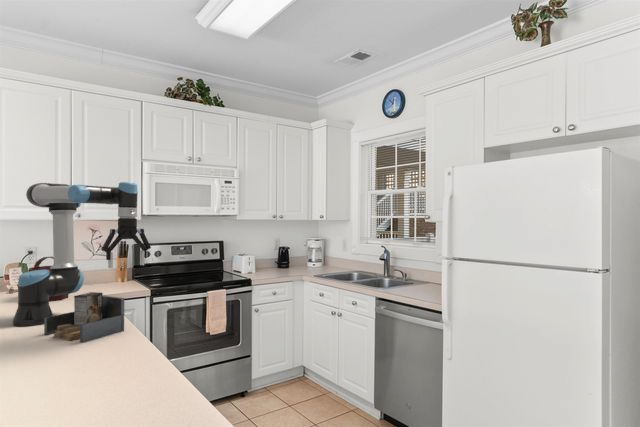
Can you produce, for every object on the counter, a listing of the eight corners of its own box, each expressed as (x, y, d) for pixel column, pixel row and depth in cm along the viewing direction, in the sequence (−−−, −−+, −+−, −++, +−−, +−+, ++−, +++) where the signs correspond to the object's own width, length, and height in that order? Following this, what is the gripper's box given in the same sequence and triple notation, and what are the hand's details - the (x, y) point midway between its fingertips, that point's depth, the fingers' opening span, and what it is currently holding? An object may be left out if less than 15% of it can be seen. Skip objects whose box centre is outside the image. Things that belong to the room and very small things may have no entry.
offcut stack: (53, 337, 166) (53, 326, 166) (67, 334, 170) (67, 323, 170) (70, 342, 160) (71, 330, 160) (84, 338, 164) (85, 327, 165)
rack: (44, 334, 168) (44, 300, 168) (87, 324, 185) (87, 293, 185) (82, 342, 158) (82, 306, 158) (124, 330, 175) (124, 298, 175)
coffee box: (90, 328, 178) (90, 291, 178) (103, 329, 177) (103, 292, 177) (73, 334, 169) (73, 295, 169) (86, 335, 168) (87, 296, 168)
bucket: (80, 298, 242) (80, 256, 242) (38, 305, 223) (39, 259, 223) (59, 294, 255) (60, 254, 255) (18, 300, 236) (19, 257, 236)
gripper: (100, 217, 166) (99, 269, 166) (159, 218, 185) (158, 264, 185) (93, 217, 171) (92, 267, 171) (151, 217, 190) (150, 263, 190)
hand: (126, 266), depth 178 cm, fingers open, 13 cm apart
